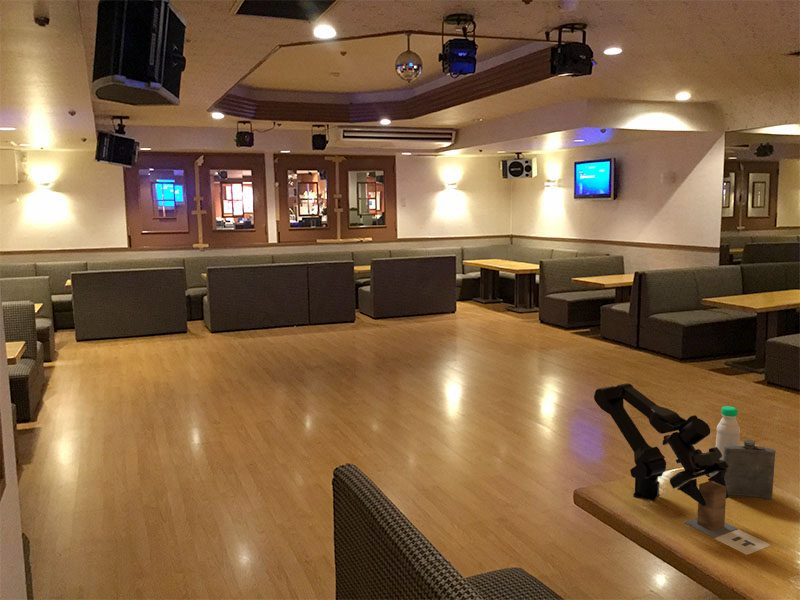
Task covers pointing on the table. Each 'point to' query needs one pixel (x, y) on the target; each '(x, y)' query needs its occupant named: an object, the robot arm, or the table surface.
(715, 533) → the mat
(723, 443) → the water bottle
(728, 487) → the flask
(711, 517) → the walnut pillar
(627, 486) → the table surface
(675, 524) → the table surface
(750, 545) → the tile
